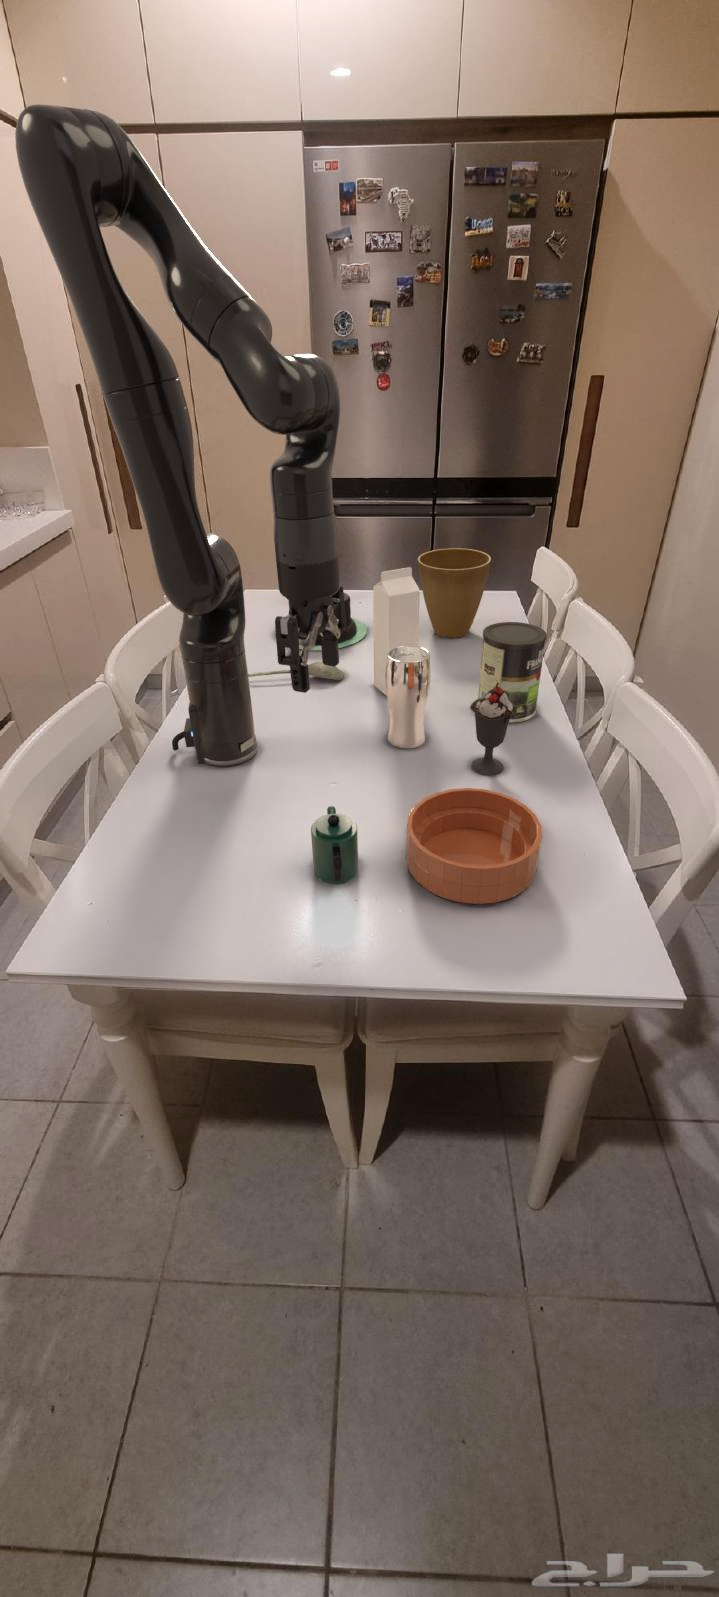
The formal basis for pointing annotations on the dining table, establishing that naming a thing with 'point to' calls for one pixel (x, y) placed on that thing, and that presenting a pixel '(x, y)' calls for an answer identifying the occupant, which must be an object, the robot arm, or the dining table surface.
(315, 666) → the soupspoon
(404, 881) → the dining table surface
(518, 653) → the coffee can
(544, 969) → the dining table surface
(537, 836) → the bowl
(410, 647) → the beer glass
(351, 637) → the chocolate cake
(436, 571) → the plant pot
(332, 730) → the dining table surface
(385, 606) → the milk
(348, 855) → the kettle
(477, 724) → the sundae
